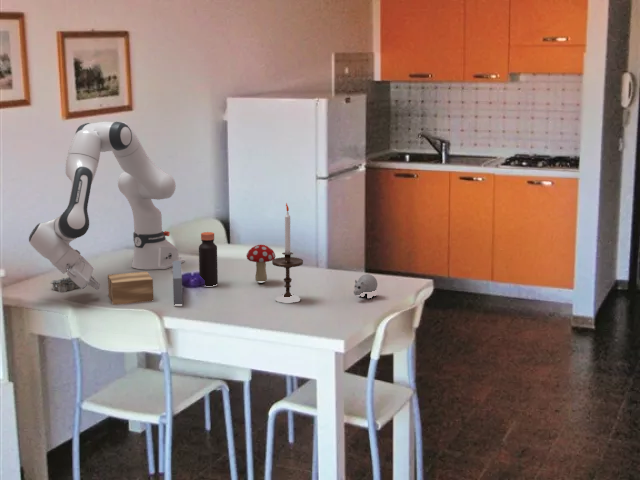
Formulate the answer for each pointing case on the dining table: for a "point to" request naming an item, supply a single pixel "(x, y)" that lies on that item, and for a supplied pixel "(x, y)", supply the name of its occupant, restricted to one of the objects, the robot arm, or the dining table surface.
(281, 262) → the candlestick
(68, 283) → the egg carton
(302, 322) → the dining table surface
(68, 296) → the dining table surface
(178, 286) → the slate board
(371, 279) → the round bodied animal figurine
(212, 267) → the bottle
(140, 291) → the oak block
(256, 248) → the decorative mushroom
